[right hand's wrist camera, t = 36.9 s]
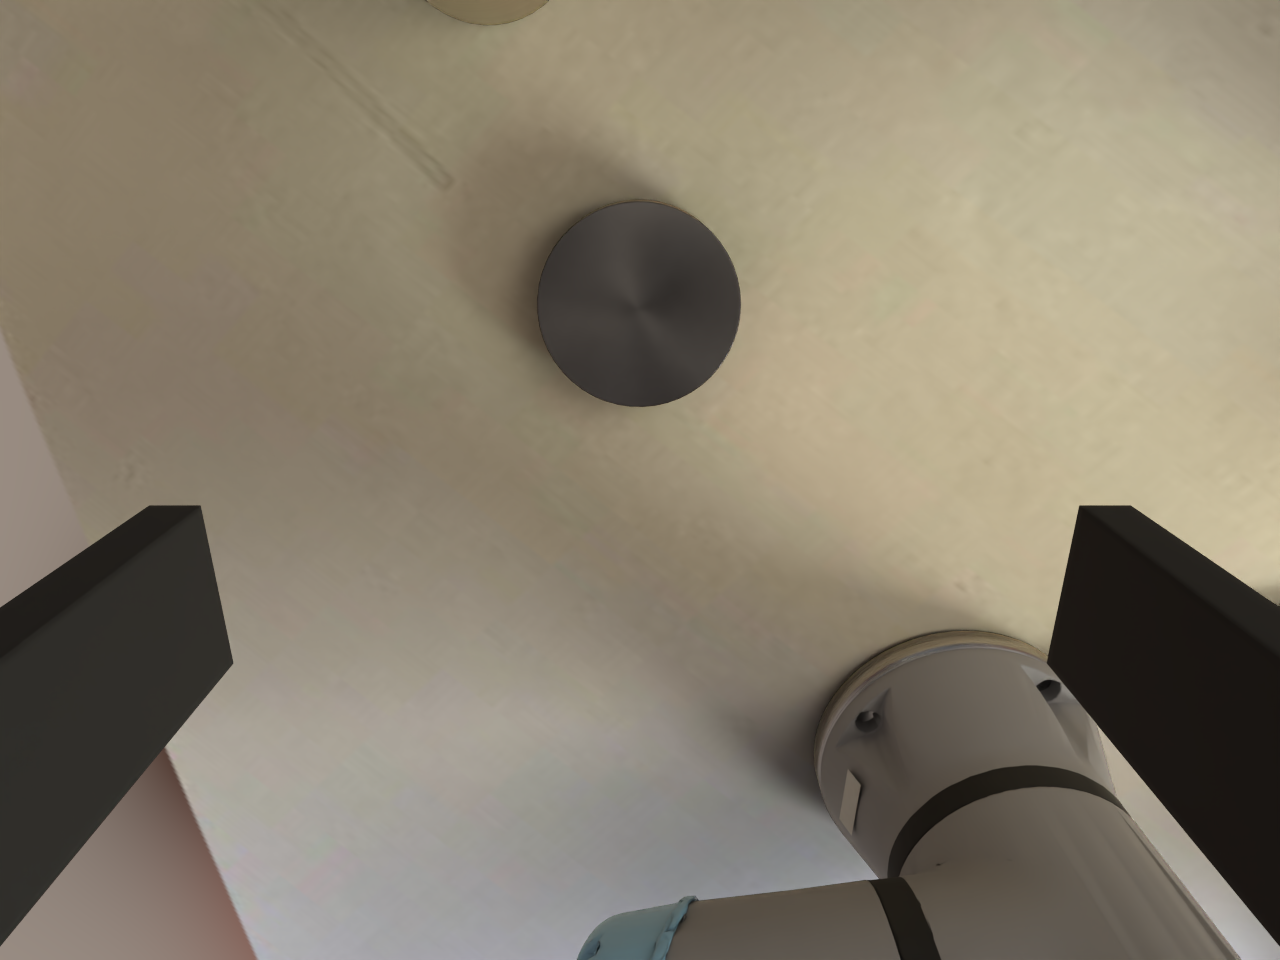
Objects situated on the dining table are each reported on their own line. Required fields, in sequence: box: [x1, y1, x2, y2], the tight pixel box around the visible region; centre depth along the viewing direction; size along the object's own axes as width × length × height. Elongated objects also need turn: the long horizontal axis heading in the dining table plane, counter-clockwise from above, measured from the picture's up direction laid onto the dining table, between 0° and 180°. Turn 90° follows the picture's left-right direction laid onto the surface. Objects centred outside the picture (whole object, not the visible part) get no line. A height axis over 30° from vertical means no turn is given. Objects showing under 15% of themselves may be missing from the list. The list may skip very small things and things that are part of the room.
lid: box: [537, 199, 741, 407], centre depth 37 cm, size 9×9×2 cm
